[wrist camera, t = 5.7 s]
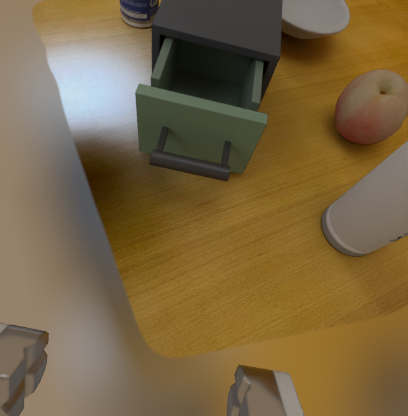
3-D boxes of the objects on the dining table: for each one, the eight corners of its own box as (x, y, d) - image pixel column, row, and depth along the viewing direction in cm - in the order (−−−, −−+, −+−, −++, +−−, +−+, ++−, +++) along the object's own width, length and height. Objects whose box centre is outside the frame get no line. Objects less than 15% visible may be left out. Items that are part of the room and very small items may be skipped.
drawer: (238, 207, 29) (264, 163, 22) (128, 184, 29) (120, 130, 22) (251, 91, 38) (273, 32, 31) (166, 70, 37) (169, 5, 30)
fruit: (311, 127, 38) (348, 76, 31) (340, 100, 41) (378, 48, 34) (362, 165, 36) (413, 120, 29) (387, 134, 39) (438, 86, 32)
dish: (233, -4, 49) (241, -39, 45) (306, -1, 53) (319, -33, 48) (266, 66, 42) (280, 32, 37) (348, 64, 45) (369, 33, 41)
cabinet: (250, 126, 36) (280, 56, 28) (152, 103, 35) (151, 24, 27) (258, 54, 43) (283, -19, 34) (175, 34, 42) (181, -47, 34)
